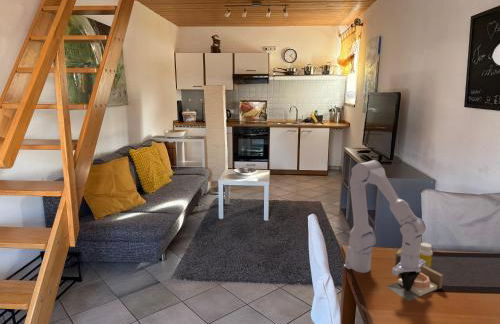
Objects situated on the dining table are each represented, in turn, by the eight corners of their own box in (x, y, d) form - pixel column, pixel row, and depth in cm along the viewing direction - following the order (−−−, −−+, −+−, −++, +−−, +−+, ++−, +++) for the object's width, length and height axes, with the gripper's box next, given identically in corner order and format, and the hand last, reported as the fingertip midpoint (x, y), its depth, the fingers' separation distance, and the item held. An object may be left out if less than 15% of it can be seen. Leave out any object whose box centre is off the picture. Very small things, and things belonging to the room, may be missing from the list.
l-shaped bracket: (385, 289, 121) (387, 274, 120) (417, 277, 129) (419, 263, 127) (408, 303, 113) (410, 287, 112) (441, 290, 120) (443, 275, 119)
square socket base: (397, 282, 123) (398, 274, 123) (414, 276, 127) (415, 268, 127) (419, 296, 116) (420, 286, 115) (436, 288, 119) (438, 280, 119)
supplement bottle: (432, 271, 133) (435, 248, 131) (417, 270, 134) (420, 247, 132) (428, 264, 138) (431, 242, 136) (414, 263, 139) (416, 241, 137)
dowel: (392, 270, 134) (393, 254, 132) (399, 268, 136) (400, 252, 134) (400, 275, 130) (402, 258, 129) (408, 272, 132) (409, 256, 131)
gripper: (405, 263, 109) (402, 300, 112) (435, 253, 116) (430, 288, 119) (388, 253, 116) (385, 289, 118) (417, 245, 122) (413, 279, 125)
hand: (406, 288), depth 119 cm, fingers closed
